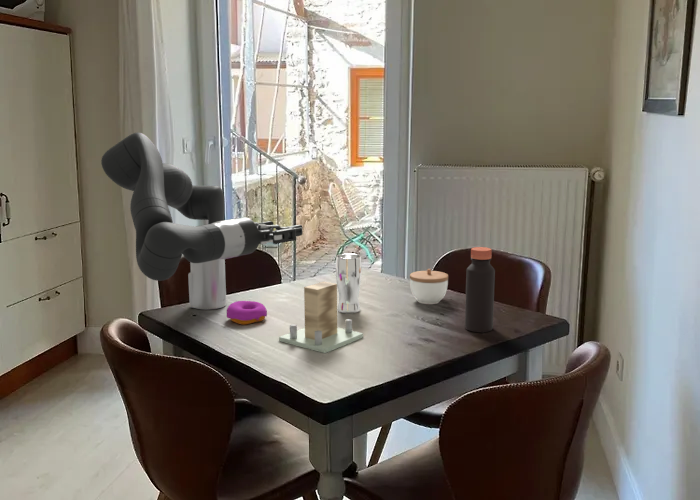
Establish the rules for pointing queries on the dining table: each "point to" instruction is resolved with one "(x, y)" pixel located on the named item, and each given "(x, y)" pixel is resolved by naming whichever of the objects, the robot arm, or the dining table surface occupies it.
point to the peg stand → (321, 344)
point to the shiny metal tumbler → (348, 282)
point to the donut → (246, 312)
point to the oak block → (320, 309)
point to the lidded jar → (428, 286)
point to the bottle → (480, 291)
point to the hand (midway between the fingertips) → (286, 227)
